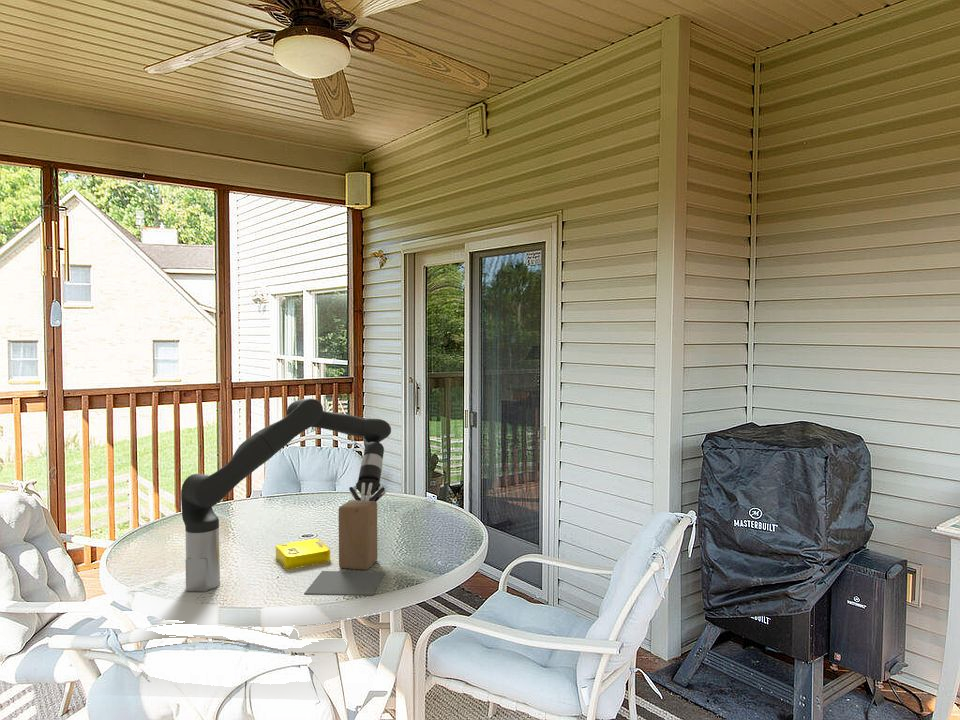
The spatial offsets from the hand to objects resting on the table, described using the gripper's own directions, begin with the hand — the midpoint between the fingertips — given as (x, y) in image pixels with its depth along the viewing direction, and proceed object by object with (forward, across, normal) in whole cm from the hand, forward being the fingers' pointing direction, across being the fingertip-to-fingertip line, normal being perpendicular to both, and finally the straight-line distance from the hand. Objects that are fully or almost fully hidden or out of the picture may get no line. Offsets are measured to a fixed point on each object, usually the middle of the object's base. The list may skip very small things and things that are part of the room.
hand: (363, 512), depth 222 cm
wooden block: (+16, 0, +5) cm, 17 cm away
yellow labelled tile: (+13, -20, +9) cm, 25 cm away
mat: (+28, 0, -7) cm, 28 cm away
